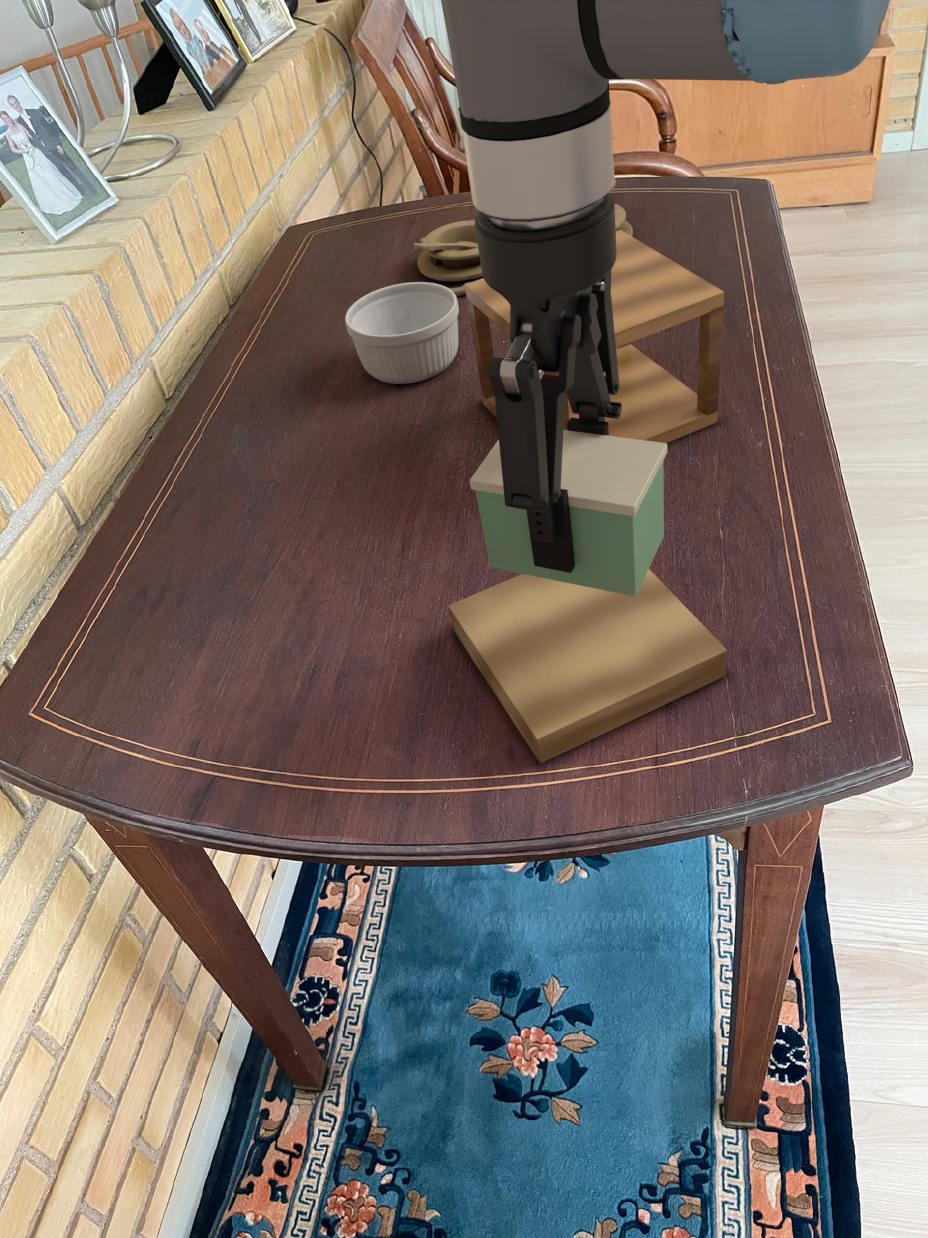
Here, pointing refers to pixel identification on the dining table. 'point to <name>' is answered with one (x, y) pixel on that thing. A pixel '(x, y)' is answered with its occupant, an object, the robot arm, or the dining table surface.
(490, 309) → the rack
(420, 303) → the ramekin
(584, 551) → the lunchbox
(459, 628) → the wooden square board
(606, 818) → the dining table surface
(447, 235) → the tableware set
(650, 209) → the dining table surface
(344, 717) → the dining table surface
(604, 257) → the robot arm
